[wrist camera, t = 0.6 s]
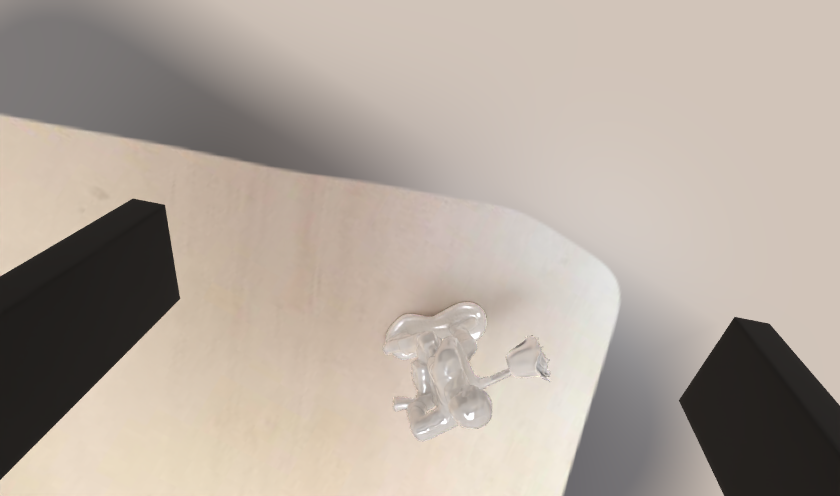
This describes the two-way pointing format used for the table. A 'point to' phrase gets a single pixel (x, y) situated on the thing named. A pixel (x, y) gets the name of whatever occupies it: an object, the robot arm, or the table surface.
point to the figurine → (452, 368)
